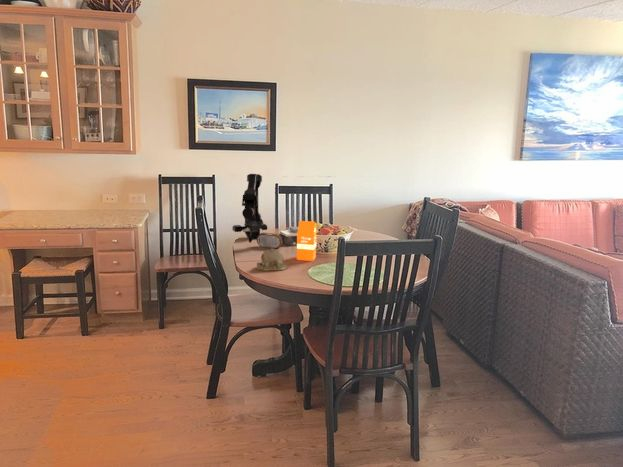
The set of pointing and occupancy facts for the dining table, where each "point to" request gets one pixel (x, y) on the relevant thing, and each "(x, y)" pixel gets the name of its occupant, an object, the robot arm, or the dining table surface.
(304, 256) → the orange juice
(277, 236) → the tin
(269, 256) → the ceramic model
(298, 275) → the dining table surface
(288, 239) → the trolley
